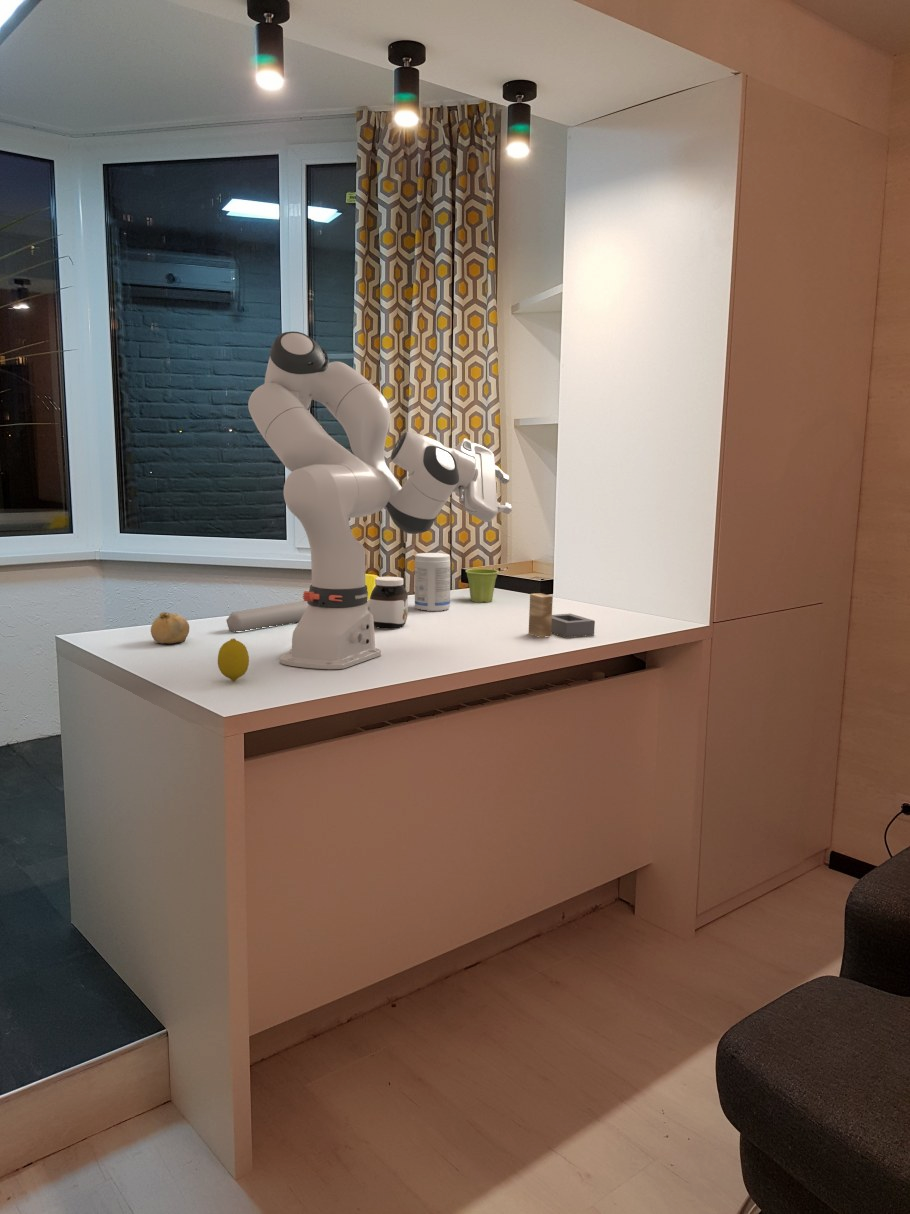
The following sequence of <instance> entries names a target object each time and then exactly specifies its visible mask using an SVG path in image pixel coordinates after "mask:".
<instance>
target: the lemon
mask: <svg viewBox="0 0 910 1214" xmlns="http://www.w3.org/2000/svg"><path fill="white" fill-rule="evenodd" d="M249 655H250V654H249V652H248V648H247V647H246V645H245V643H243V642H241V641H239V640H237V639H236V638H230V639H229V640H228V641H225V642H224V643H222V645H221V646H220V648H219V650H218V654H217V666H218V667H217V668H218V669H219V672H220V673H221V674H222V676H224V677H225V678H228V679H229V680H230V681H232V682H236V681H238V679H239V678H241V677H243V676H244V675H245V673H246V672H247V671H248V669H249V665H250V656H249Z"/></svg>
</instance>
